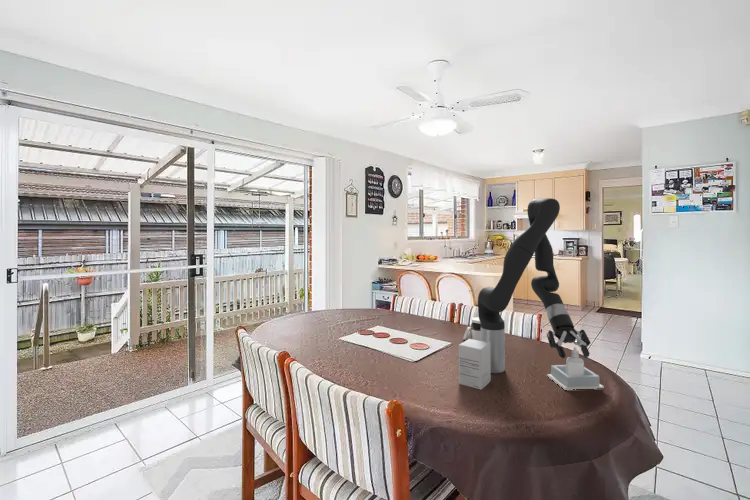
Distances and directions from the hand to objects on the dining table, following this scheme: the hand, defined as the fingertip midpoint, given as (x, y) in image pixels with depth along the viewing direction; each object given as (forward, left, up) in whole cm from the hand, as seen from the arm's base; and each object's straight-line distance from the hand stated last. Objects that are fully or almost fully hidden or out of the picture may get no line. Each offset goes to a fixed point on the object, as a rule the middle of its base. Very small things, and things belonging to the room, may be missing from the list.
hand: (575, 357), depth 134 cm
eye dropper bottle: (0, +1, -9) cm, 9 cm away
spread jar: (-21, +52, -10) cm, 57 cm away
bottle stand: (0, +1, -10) cm, 10 cm away
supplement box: (-36, +4, -10) cm, 38 cm away
